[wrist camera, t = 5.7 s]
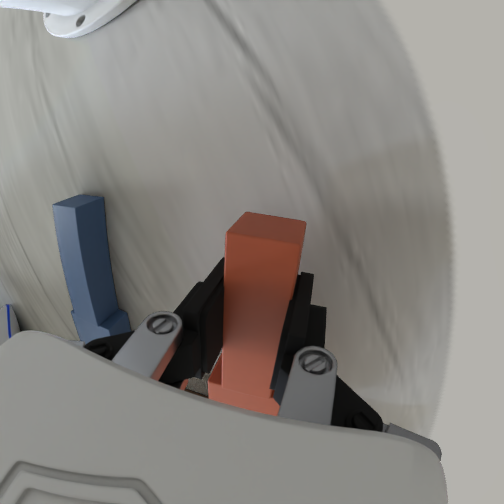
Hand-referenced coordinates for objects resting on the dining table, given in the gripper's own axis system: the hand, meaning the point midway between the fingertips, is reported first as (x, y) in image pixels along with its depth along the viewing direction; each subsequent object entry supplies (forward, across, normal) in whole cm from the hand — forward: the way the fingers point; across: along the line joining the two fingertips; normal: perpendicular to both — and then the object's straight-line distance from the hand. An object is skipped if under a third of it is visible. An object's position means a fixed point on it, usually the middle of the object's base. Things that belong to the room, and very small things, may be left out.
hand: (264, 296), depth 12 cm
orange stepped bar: (0, 0, +3) cm, 3 cm away
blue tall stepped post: (+2, +12, +4) cm, 12 cm away
